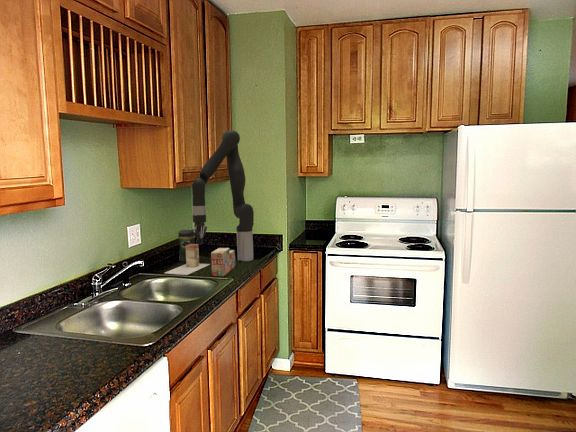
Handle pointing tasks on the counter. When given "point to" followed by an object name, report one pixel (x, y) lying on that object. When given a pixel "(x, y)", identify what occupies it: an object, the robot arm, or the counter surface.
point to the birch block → (192, 255)
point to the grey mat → (186, 269)
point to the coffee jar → (185, 242)
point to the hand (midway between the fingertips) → (200, 244)
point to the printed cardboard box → (222, 261)
